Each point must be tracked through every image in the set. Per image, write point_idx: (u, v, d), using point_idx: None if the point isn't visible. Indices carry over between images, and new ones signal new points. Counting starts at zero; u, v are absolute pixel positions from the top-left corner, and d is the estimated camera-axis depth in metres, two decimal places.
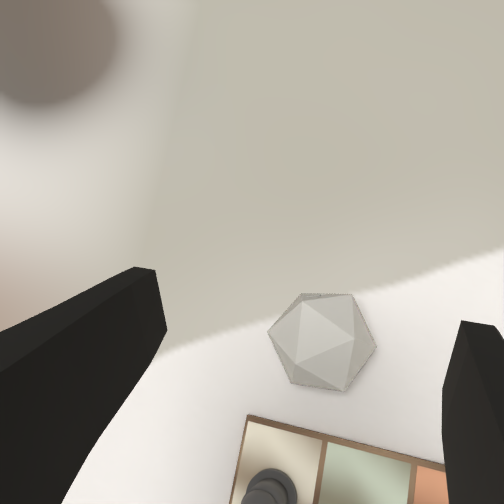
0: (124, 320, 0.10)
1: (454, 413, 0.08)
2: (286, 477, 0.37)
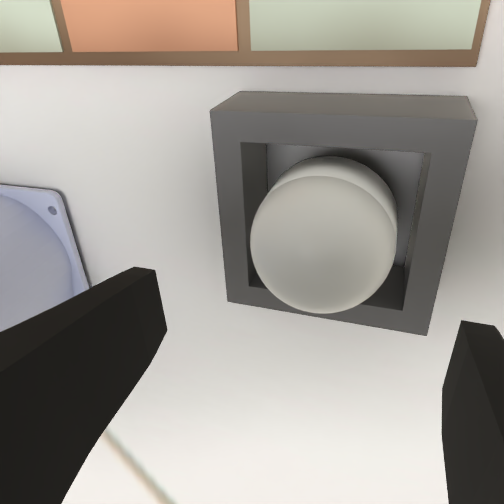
0: (124, 320, 0.10)
1: (454, 413, 0.08)
2: None
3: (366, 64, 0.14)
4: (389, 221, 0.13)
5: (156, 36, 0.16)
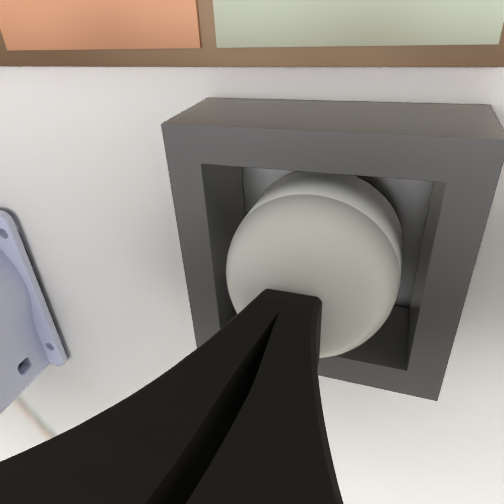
0: None
1: None
2: None
3: (361, 64, 0.11)
4: (392, 250, 0.11)
5: (102, 30, 0.13)
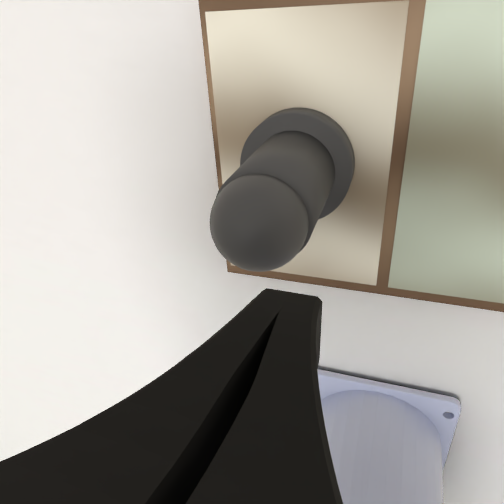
0: None
1: None
2: (323, 120, 0.15)
3: None
4: None
5: None
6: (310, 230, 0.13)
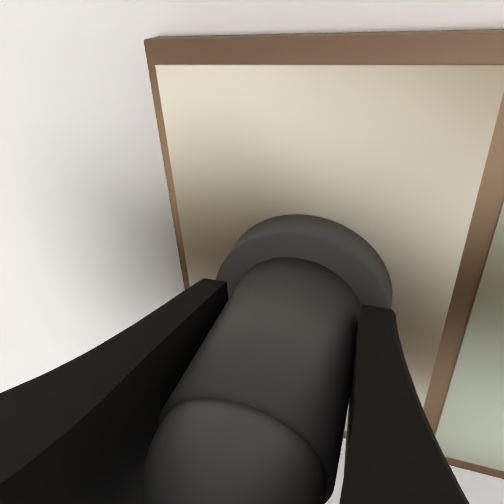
0: (201, 336, 0.09)
1: None
2: (346, 246, 0.09)
3: None
4: None
5: None
6: (328, 492, 0.07)
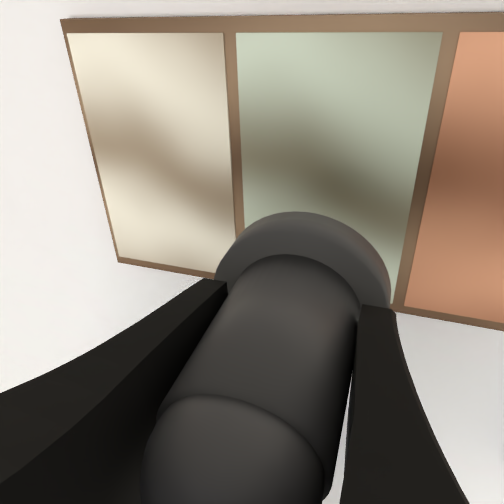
0: (201, 336, 0.09)
1: (350, 390, 0.09)
2: (344, 243, 0.09)
3: None
4: None
5: (502, 313, 0.18)
6: (326, 489, 0.07)
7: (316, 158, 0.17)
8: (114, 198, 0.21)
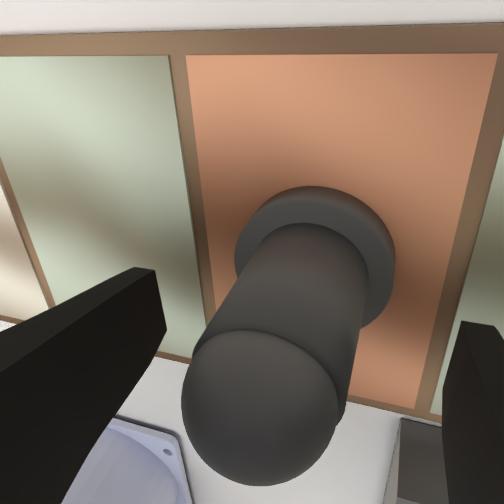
0: (124, 320, 0.10)
1: (454, 413, 0.08)
2: (354, 212, 0.10)
3: None
4: None
5: None
6: (340, 413, 0.08)
7: (89, 201, 0.14)
8: None
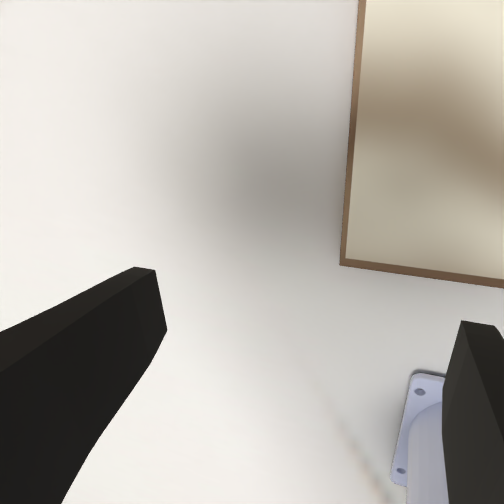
0: (124, 320, 0.10)
1: (454, 413, 0.08)
2: None
3: None
4: None
5: None
6: None
7: None
8: (365, 184, 0.17)
